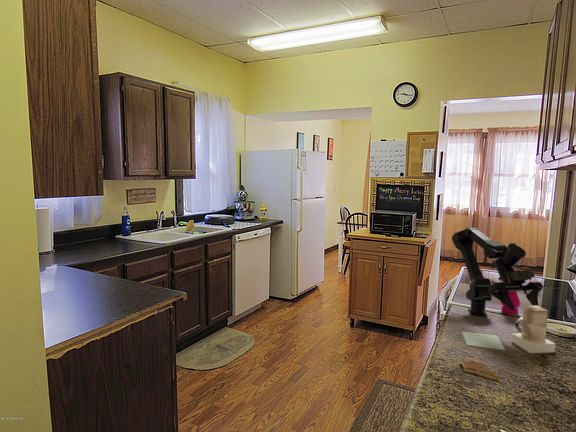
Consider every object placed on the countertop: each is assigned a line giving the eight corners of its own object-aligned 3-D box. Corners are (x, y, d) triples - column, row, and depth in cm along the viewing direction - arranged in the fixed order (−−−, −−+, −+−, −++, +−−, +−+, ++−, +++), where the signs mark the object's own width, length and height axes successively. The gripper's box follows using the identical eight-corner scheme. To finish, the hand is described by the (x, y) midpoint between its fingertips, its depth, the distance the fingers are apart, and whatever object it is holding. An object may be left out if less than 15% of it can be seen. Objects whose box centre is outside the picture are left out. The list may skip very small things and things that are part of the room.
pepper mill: (522, 315, 161) (526, 269, 159) (506, 314, 161) (509, 269, 159) (513, 309, 168) (516, 265, 166) (496, 309, 168) (500, 265, 166)
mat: (461, 332, 143) (461, 331, 143) (496, 336, 140) (496, 335, 140) (467, 345, 131) (467, 344, 131) (505, 350, 128) (505, 349, 128)
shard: (500, 383, 108) (501, 377, 108) (476, 384, 108) (476, 378, 108) (478, 364, 119) (478, 359, 119) (455, 365, 119) (456, 360, 118)
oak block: (521, 335, 133) (523, 305, 132) (534, 335, 133) (536, 305, 132) (531, 341, 128) (534, 310, 127) (545, 341, 128) (547, 310, 127)
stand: (511, 341, 135) (512, 333, 135) (534, 340, 136) (535, 332, 136) (530, 353, 126) (530, 344, 126) (554, 352, 127) (555, 343, 127)
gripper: (494, 261, 137) (513, 300, 127) (541, 260, 139) (564, 298, 129) (480, 276, 146) (496, 314, 136) (524, 275, 147) (544, 312, 138)
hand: (525, 309), depth 134 cm, fingers open, 9 cm apart
